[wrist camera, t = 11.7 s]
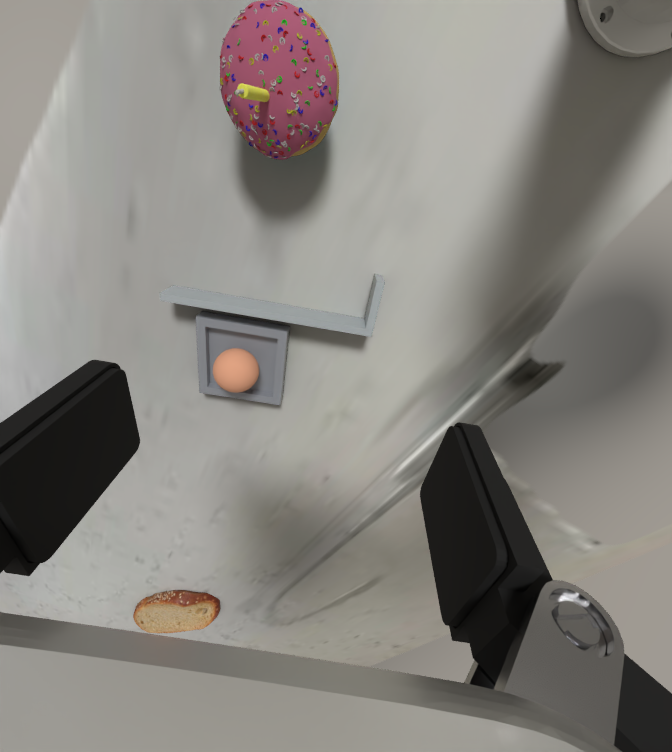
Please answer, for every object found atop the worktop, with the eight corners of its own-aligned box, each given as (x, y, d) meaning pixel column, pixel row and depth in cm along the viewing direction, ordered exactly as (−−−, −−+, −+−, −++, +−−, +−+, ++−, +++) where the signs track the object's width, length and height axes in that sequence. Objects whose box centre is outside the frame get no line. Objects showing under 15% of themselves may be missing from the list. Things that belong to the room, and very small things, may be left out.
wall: (382, 275, 34) (384, 282, 32) (370, 326, 37) (371, 336, 35) (169, 236, 33) (153, 240, 30) (173, 292, 36) (160, 300, 33)
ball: (265, 345, 38) (252, 366, 33) (263, 381, 40) (250, 405, 36) (222, 337, 38) (204, 357, 33) (222, 373, 40) (206, 396, 36)
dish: (289, 325, 37) (287, 332, 36) (282, 397, 42) (280, 405, 41) (202, 310, 37) (195, 316, 35) (205, 384, 42) (199, 392, 40)
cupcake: (308, 182, 30) (287, 180, 20) (222, 122, 28) (149, 85, 18) (360, 77, 26) (367, 7, 16) (265, -1, 24) (203, -139, 14)
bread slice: (136, 618, 75) (127, 637, 72) (136, 577, 67) (125, 597, 63) (214, 631, 78) (208, 651, 74) (223, 594, 69) (217, 614, 66)
